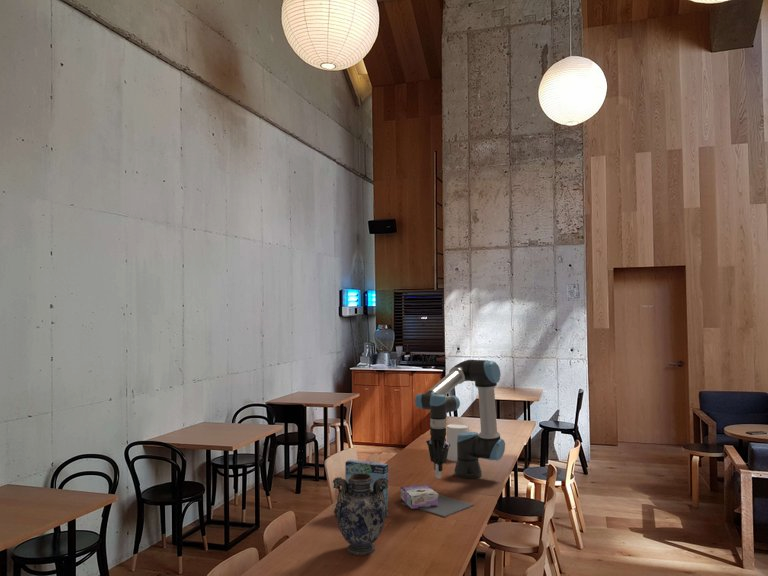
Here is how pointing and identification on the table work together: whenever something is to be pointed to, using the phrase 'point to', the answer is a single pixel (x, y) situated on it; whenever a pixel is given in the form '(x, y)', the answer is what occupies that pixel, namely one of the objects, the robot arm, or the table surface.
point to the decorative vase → (360, 511)
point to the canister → (454, 438)
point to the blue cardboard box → (367, 468)
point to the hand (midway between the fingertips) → (438, 477)
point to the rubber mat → (446, 506)
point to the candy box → (419, 496)
